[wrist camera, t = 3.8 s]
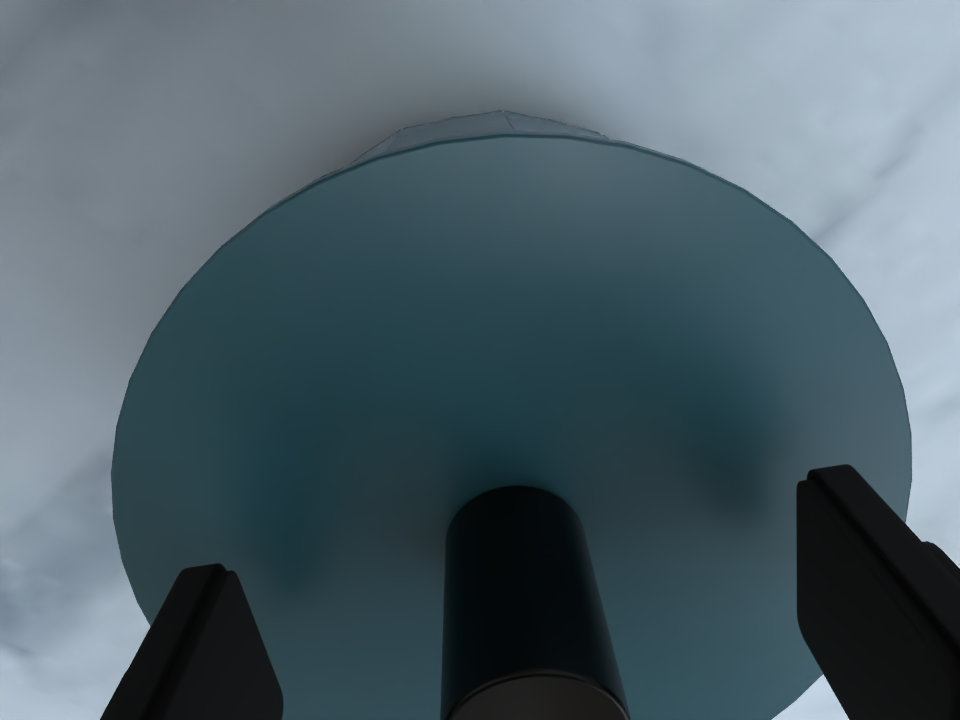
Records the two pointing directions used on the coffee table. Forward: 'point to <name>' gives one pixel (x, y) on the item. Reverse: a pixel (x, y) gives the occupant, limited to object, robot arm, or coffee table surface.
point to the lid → (509, 434)
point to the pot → (472, 129)
